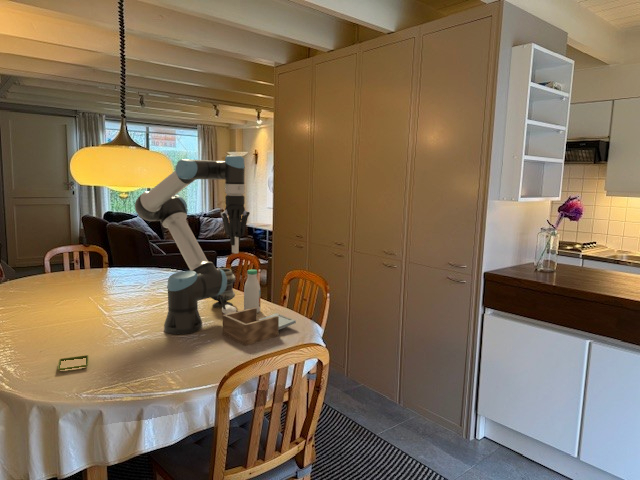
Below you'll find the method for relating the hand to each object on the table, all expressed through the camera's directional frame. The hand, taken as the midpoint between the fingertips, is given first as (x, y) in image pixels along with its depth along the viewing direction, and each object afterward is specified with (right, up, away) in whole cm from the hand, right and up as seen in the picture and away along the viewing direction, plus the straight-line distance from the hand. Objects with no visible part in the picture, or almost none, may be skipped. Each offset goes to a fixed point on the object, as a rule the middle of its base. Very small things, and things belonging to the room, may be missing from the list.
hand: (235, 252), depth 179 cm
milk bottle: (+3, -29, +29) cm, 41 cm away
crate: (+7, -33, -2) cm, 34 cm away
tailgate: (+13, -30, +4) cm, 33 cm away
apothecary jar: (-13, -27, +37) cm, 48 cm away
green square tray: (-47, -37, -34) cm, 69 cm away
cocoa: (-6, -30, +16) cm, 35 cm away
